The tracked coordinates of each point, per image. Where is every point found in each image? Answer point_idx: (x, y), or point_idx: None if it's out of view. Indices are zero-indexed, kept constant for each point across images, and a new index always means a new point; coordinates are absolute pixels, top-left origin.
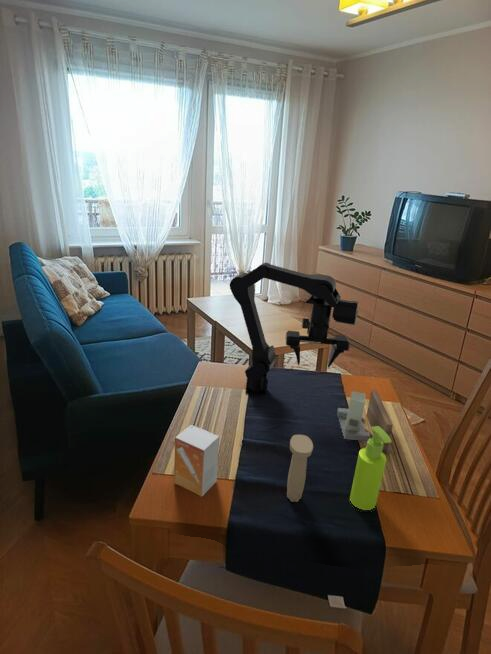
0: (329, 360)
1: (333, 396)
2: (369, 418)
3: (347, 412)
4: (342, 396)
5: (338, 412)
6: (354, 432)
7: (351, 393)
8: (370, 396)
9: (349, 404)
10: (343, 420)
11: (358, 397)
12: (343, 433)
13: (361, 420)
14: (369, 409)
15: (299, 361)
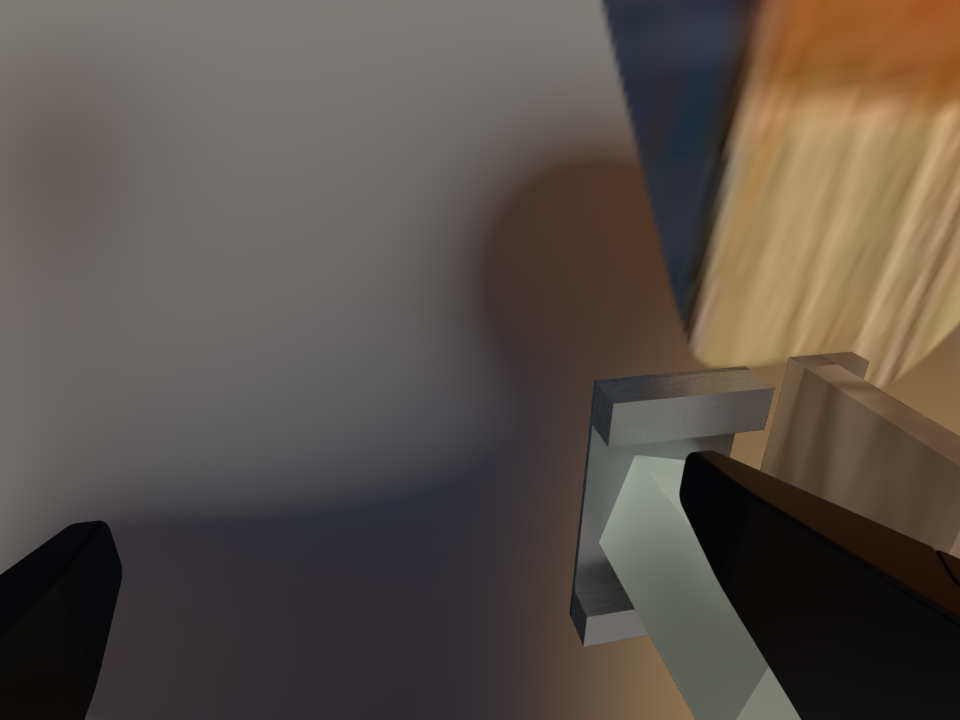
0: (775, 610)
1: (632, 108)
2: (789, 437)
3: (666, 439)
4: (716, 91)
5: (603, 428)
6: (639, 621)
7: (760, 681)
8: (922, 448)
9: (693, 645)
10: (615, 462)
11: (792, 711)
12: (577, 597)
13: (732, 433)
14: (833, 430)
15: (82, 700)
